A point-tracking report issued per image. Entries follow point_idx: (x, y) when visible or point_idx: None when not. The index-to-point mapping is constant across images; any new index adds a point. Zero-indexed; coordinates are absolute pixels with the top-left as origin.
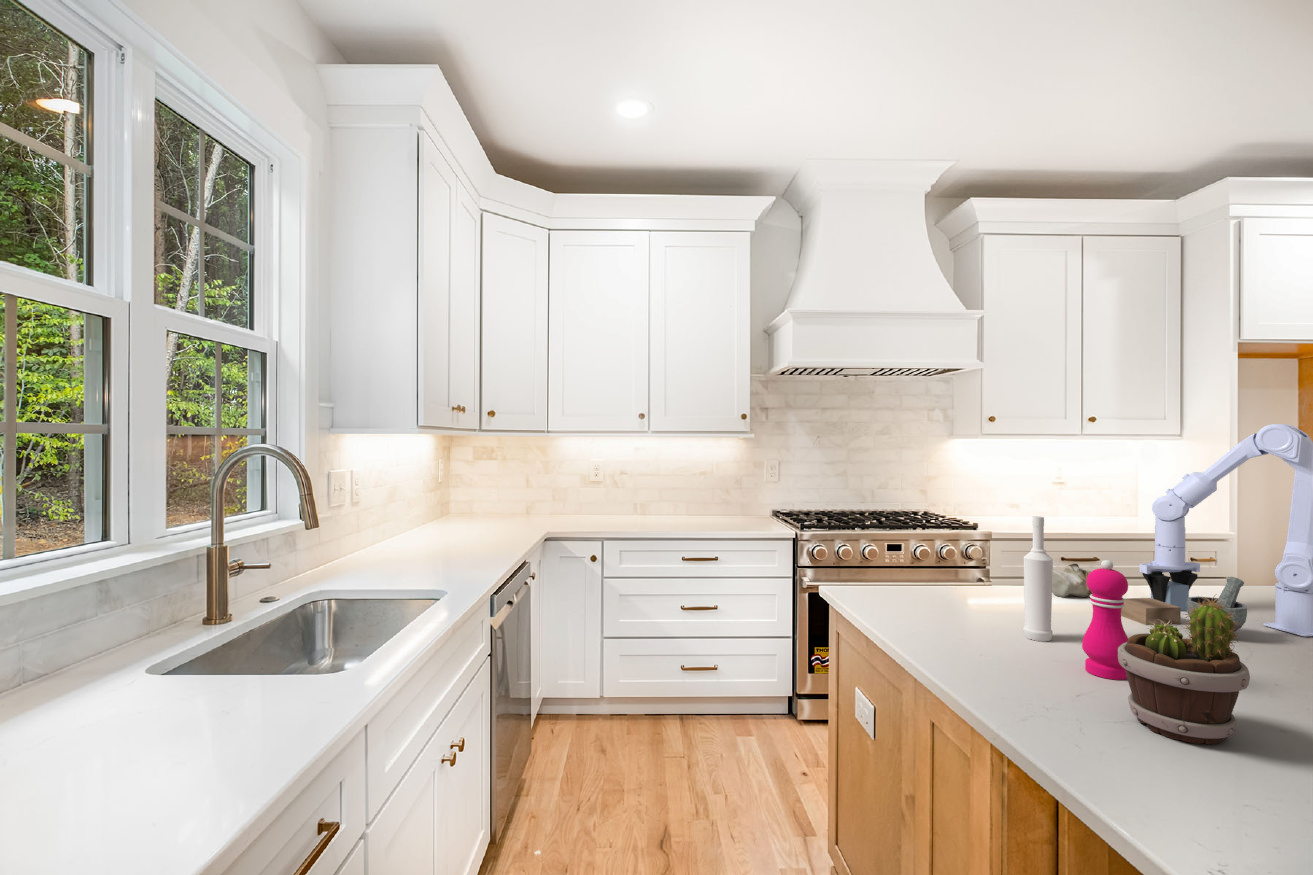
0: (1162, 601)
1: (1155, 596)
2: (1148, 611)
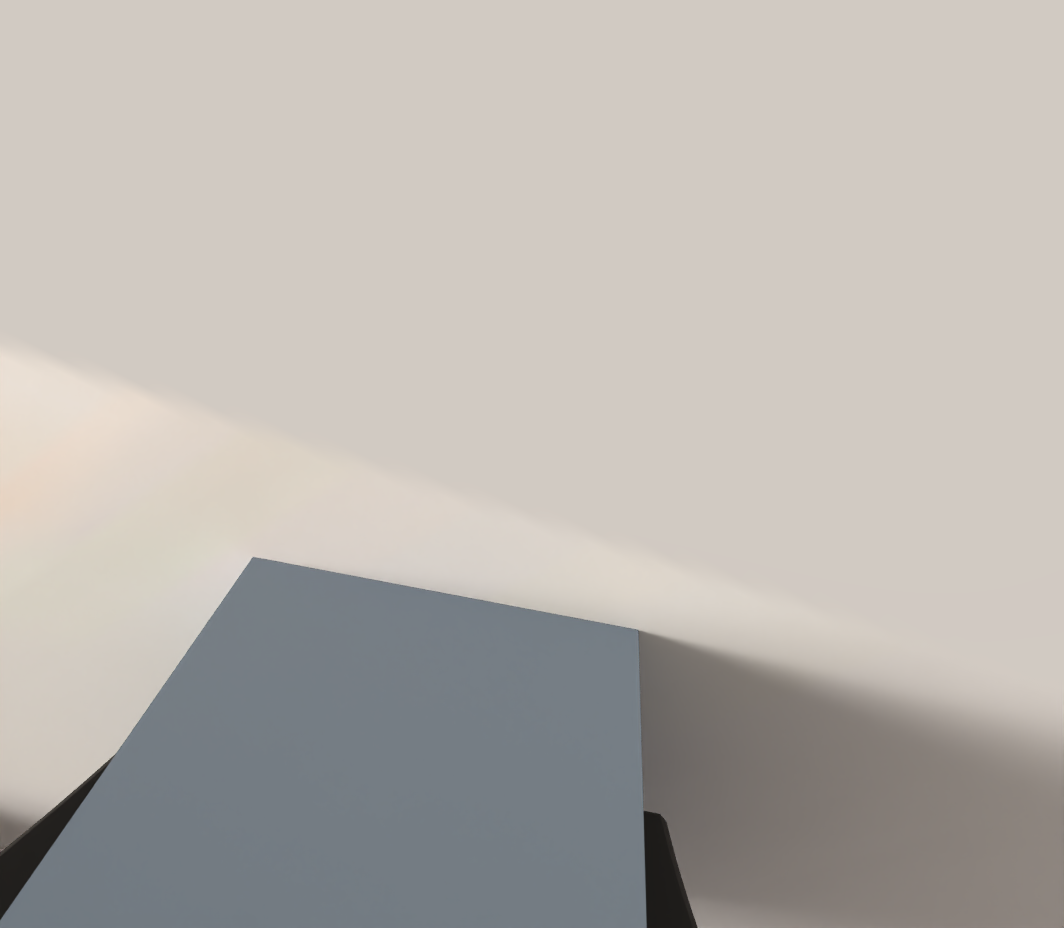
0: None
1: None
2: None
